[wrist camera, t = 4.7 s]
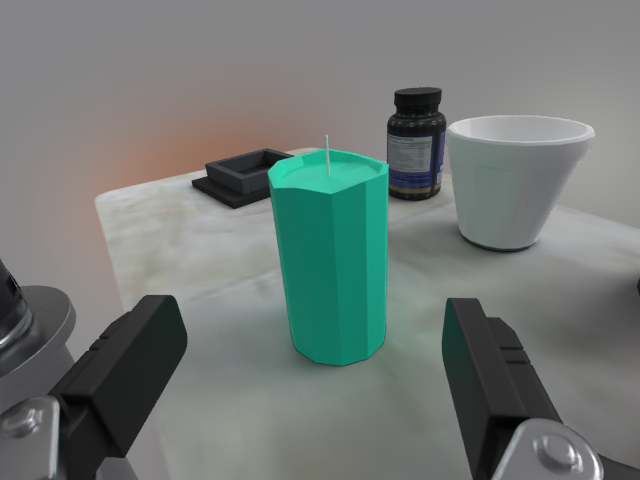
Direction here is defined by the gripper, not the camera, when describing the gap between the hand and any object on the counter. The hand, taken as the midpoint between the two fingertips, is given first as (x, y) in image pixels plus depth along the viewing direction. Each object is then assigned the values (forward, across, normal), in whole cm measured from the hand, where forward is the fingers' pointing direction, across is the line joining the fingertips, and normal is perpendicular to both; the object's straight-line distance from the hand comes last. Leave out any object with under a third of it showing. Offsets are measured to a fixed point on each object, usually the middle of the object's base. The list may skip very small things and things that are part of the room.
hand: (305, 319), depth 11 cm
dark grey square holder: (+38, +13, +9) cm, 41 cm away
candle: (+9, 0, +9) cm, 13 cm away
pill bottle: (+33, -7, +9) cm, 35 cm away
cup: (+21, -13, +9) cm, 27 cm away
